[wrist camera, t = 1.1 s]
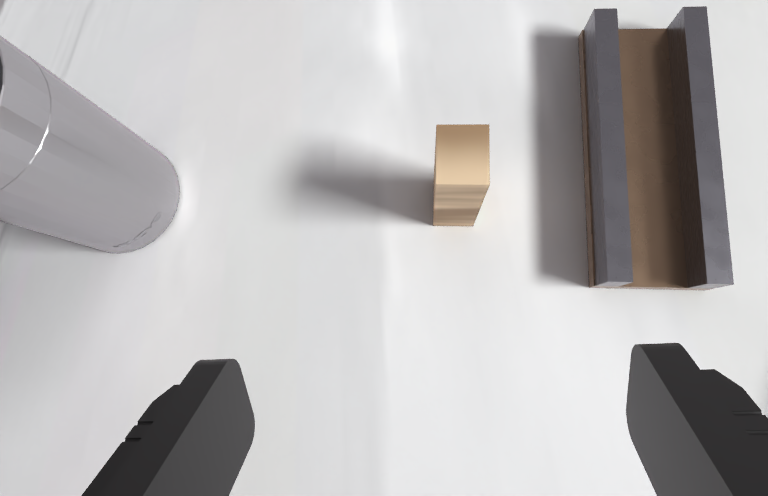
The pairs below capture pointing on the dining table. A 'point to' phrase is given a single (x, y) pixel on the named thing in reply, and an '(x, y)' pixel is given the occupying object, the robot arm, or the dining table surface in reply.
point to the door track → (652, 156)
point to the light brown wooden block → (460, 173)
